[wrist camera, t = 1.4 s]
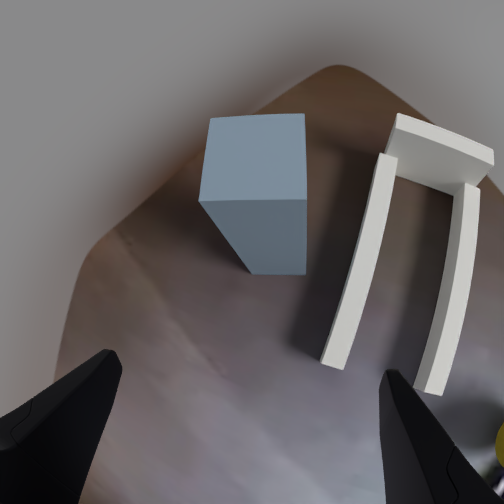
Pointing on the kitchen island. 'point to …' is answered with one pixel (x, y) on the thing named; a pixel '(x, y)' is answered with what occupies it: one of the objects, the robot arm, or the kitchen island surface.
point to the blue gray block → (259, 189)
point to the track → (459, 245)
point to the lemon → (500, 445)
